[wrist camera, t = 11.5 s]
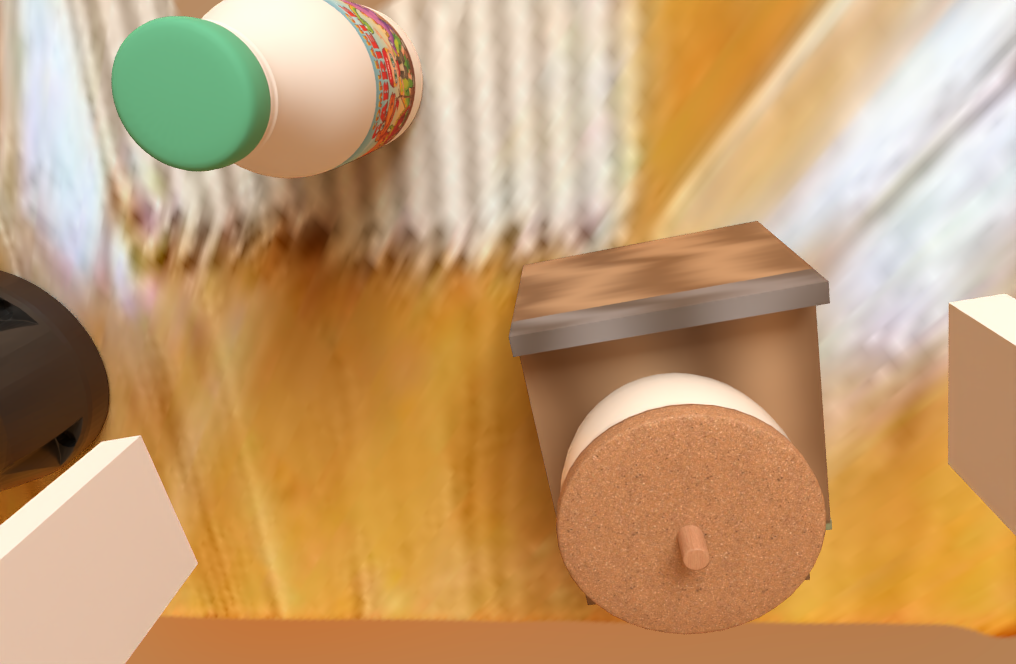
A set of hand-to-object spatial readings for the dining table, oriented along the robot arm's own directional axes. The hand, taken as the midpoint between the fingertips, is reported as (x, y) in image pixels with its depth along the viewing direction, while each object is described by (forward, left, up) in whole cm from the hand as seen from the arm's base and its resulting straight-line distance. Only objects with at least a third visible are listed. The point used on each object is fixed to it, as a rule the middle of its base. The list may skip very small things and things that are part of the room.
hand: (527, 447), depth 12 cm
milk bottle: (-10, +7, -32) cm, 34 cm away
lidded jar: (+3, -13, -22) cm, 26 cm away
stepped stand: (+4, -16, -32) cm, 36 cm away
